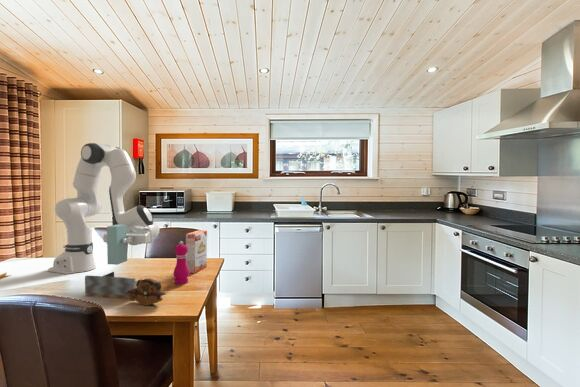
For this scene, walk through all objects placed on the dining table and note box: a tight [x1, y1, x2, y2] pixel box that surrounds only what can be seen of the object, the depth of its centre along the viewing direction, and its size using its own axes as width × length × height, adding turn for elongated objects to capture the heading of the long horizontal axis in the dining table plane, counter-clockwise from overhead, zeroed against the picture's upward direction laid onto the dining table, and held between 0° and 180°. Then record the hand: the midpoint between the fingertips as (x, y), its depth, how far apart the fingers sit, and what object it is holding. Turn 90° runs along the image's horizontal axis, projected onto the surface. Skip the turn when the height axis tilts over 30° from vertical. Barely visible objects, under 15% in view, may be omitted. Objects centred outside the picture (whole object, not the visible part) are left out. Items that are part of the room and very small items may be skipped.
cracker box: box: [185, 229, 208, 274], centre depth 179 cm, size 14×6×21 cm, turn 168°
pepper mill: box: [173, 240, 190, 285], centre depth 157 cm, size 7×7×20 cm
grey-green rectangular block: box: [106, 224, 128, 266], centre depth 141 cm, size 4×6×16 cm
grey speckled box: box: [84, 271, 138, 300], centre depth 145 cm, size 22×18×8 cm
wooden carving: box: [127, 277, 167, 306], centre depth 130 cm, size 16×5×10 cm, turn 80°
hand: (115, 240), depth 140 cm, fingers closed on grey-green rectangular block, 4 cm apart
